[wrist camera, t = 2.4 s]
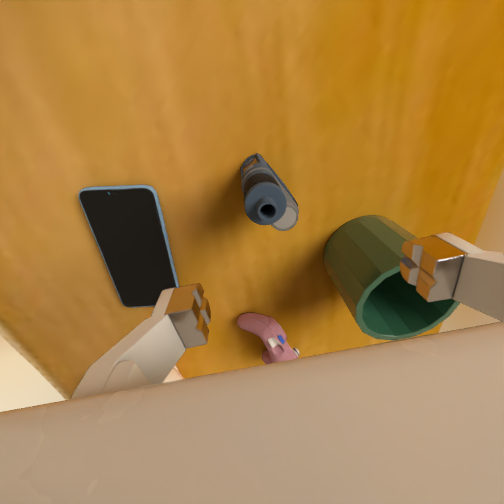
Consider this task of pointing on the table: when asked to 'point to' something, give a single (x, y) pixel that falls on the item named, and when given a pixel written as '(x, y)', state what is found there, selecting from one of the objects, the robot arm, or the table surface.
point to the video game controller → (268, 337)
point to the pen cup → (380, 280)
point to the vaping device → (267, 195)
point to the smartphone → (131, 240)
